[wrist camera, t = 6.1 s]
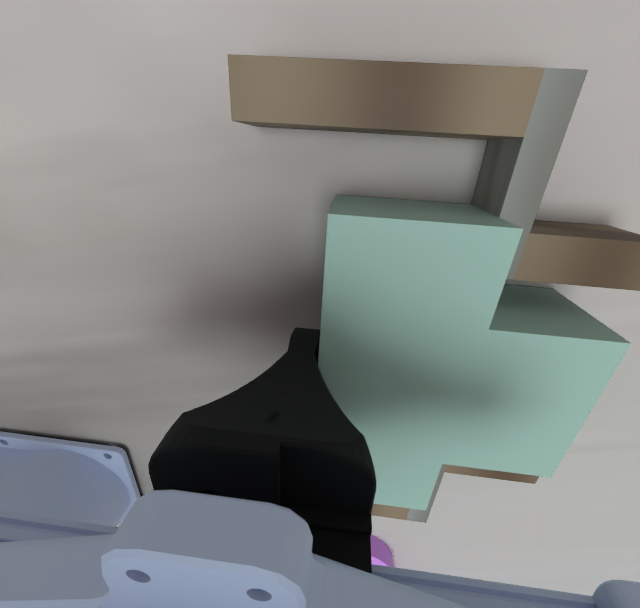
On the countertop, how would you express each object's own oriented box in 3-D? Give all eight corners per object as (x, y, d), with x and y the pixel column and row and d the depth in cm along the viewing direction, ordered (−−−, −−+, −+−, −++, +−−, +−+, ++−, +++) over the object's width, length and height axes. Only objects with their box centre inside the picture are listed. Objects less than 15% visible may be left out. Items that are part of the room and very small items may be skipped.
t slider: (319, 423, 17) (309, 494, 14) (336, 194, 12) (327, 214, 8) (487, 443, 17) (523, 523, 13) (585, 212, 11) (692, 241, 8)
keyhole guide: (266, 457, 19) (255, 498, 17) (255, 74, 10) (227, 54, 8) (487, 486, 18) (506, 534, 16) (671, 94, 10) (767, 77, 7)
